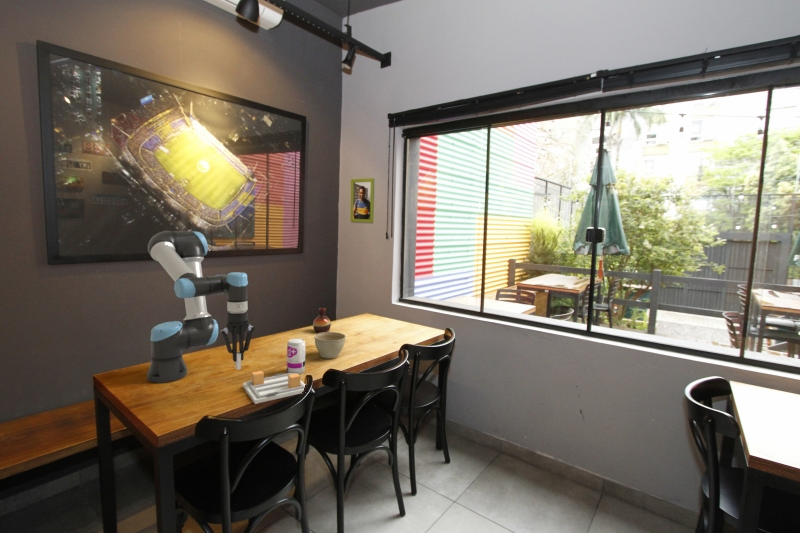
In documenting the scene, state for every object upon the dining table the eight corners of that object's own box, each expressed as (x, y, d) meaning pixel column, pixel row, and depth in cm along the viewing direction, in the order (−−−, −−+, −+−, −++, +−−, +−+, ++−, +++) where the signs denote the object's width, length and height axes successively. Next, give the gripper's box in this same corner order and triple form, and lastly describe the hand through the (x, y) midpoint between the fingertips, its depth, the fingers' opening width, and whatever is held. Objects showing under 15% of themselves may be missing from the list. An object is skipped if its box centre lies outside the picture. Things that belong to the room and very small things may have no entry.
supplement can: (295, 376, 176) (296, 344, 174) (283, 372, 180) (283, 340, 178) (308, 371, 182) (309, 340, 181) (296, 367, 187) (296, 336, 185)
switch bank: (255, 404, 148) (255, 397, 148) (242, 386, 163) (242, 380, 162) (309, 391, 161) (309, 385, 160) (293, 376, 175) (293, 371, 175)
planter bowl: (351, 356, 205) (351, 336, 203) (326, 363, 193) (326, 342, 192) (332, 348, 216) (333, 329, 214) (307, 355, 204) (308, 335, 203)
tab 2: (290, 389, 158) (291, 377, 158) (288, 386, 161) (288, 375, 161) (300, 387, 161) (300, 376, 160) (297, 384, 164) (297, 373, 163)
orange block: (254, 386, 159) (254, 375, 159) (251, 383, 162) (251, 372, 162) (263, 384, 162) (263, 373, 161) (261, 381, 165) (261, 370, 164)
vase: (328, 334, 242) (329, 310, 240) (311, 333, 242) (311, 309, 240) (332, 329, 253) (332, 306, 251) (315, 328, 253) (315, 305, 251)
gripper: (222, 315, 147) (222, 374, 149) (257, 311, 154) (257, 368, 157) (218, 311, 153) (218, 368, 155) (251, 308, 161) (252, 362, 163)
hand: (238, 368), depth 156 cm, fingers closed
